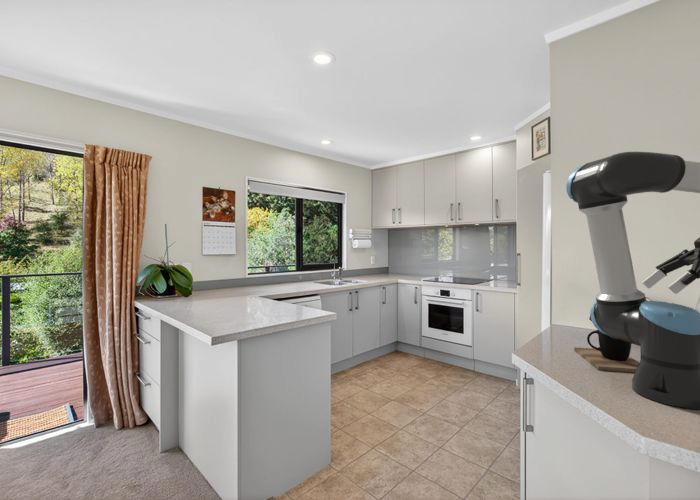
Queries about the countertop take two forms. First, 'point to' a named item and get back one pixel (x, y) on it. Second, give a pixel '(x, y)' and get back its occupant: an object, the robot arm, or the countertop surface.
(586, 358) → the walnut board
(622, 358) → the mug
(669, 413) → the countertop surface
